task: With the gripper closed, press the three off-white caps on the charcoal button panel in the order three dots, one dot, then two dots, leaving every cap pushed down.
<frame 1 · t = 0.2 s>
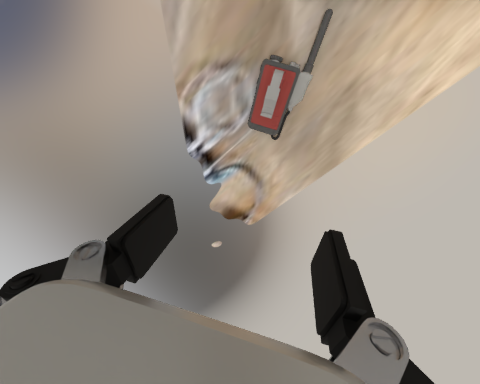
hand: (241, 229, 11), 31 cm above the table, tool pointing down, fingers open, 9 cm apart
walkie-talkie: (283, 82, 33), on the table
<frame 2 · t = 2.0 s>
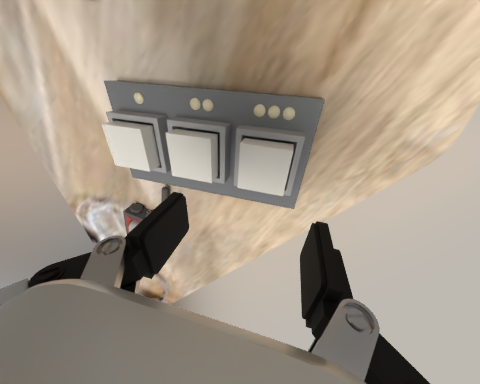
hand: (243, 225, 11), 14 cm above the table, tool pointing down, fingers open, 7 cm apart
button 3: (263, 167, 19), point 5 cm above the table, slide at 0.0 cm
walkie-talkie: (153, 217, 36), on the table
button 1: (133, 146, 22), point 5 cm above the table, slide at 0.0 cm
button panel: (210, 143, 24), on the table
button 2: (193, 156, 20), point 5 cm above the table, slide at 0.0 cm
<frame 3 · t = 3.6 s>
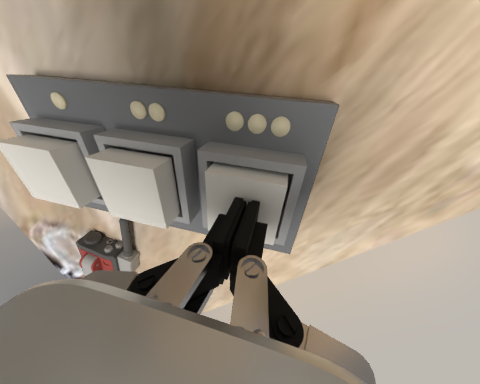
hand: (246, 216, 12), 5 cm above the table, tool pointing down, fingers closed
button 3: (244, 203, 13), point 4 cm above the table, slide at 0.8 cm, touching gripper
walkie-talkie: (118, 246, 29), on the table
button 1: (54, 171, 15), point 5 cm above the table, slide at 0.0 cm
button panel: (173, 163, 17), on the table
button 2: (138, 188, 13), point 5 cm above the table, slide at 0.0 cm
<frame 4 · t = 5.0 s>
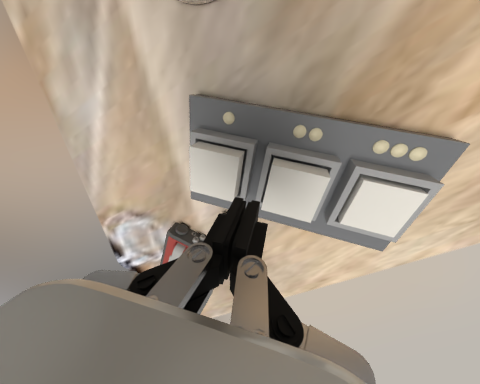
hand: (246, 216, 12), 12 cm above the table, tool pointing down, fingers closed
button 3: (375, 204, 17), point 4 cm above the table, slide at 1.2 cm
walkie-talkie: (195, 238, 33), on the table
button 1: (216, 171, 19), point 5 cm above the table, slide at 0.0 cm
button panel: (293, 171, 21), on the table
button 2: (292, 190, 17), point 5 cm above the table, slide at 0.0 cm
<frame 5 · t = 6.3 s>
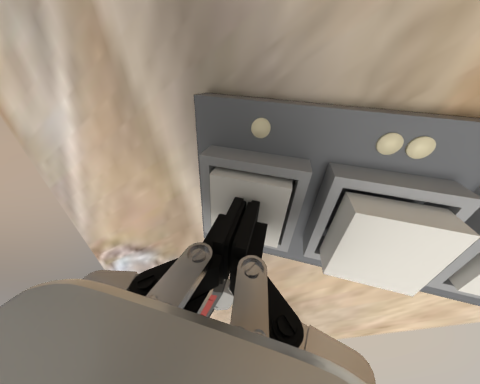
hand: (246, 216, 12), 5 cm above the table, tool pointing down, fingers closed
walkie-talkie: (211, 275, 27), on the table
button 1: (248, 205, 13), point 4 cm above the table, slide at 1.2 cm, touching gripper
button panel: (355, 199, 14), on the table
button 2: (379, 244, 10), point 5 cm above the table, slide at 0.0 cm
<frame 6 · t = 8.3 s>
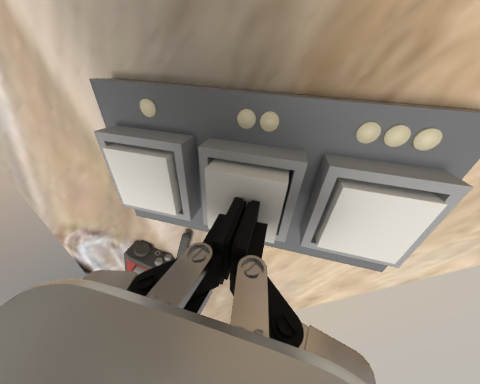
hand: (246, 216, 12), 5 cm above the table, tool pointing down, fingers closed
button 3: (365, 218, 12), point 4 cm above the table, slide at 1.2 cm
walkie-talkie: (162, 256, 28), on the table
button 1: (150, 178, 14), point 4 cm above the table, slide at 1.2 cm
button panel: (255, 174, 16), on the table
button 2: (245, 200, 13), point 4 cm above the table, slide at 0.6 cm, touching gripper
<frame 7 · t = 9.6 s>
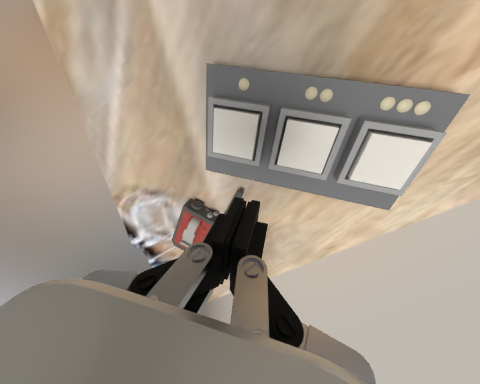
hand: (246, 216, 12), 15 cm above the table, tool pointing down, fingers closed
button 3: (382, 159, 19), point 4 cm above the table, slide at 1.2 cm
walkie-talkie: (207, 215, 35), on the table
button 1: (236, 133, 21), point 4 cm above the table, slide at 1.2 cm
button panel: (303, 137, 23), on the table
button 2: (304, 145, 20), point 4 cm above the table, slide at 1.2 cm
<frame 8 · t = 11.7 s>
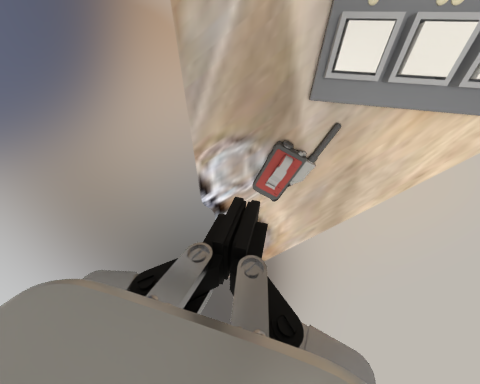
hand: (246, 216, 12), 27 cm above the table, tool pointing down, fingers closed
walkie-talkie: (290, 159, 37), on the table
button 1: (360, 48, 23), point 4 cm above the table, slide at 1.2 cm
button panel: (414, 55, 25), on the table
button 2: (431, 51, 22), point 4 cm above the table, slide at 1.2 cm
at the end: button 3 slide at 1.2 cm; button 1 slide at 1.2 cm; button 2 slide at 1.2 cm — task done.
